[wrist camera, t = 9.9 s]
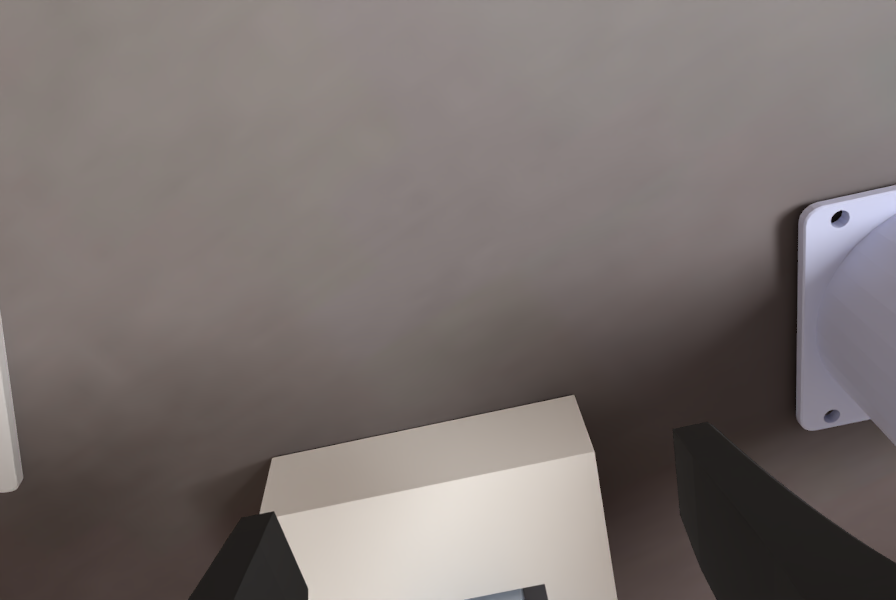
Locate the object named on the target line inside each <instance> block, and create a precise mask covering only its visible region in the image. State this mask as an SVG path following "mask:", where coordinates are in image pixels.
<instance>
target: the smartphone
mask: <svg viewBox="0 0 896 600" xmlns="http://www.w3.org/2000/svg"><path fill="white" fill-rule="evenodd" d="M22 480H23V472H22V464H21V457H20V450H19V443H18V436H17V428H16V421H15V414H14V407H13V400H12V393H11V385H10V378H9V371H8V364H7V357H6V349H5V342H4V335H3V328H2V321H1V313H0V492H4V493H5V492H11V491H14V490H16V489H17V488H18V486H19V485H20V483H21V482H22Z"/></svg>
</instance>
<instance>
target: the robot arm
mask: <svg viewBox="0 0 896 600" xmlns="http://www.w3.org/2000/svg"><path fill="white" fill-rule="evenodd" d="M840 210H842V215H841V217H840V218H839V219H838V220H837V221H835V222H833V223H831V218H832V216H833V215H834V214H835V213H836V212H838V211H840ZM830 410H833V411H832V412H831V413H830V414H828V415H825V414H826V413H827V412H828V411H830ZM796 418H797V421H798V422H799V424H800V425H801V426H802V427H803V428H804V429H806V430H809V431H815V430H820V429H825V428H830V427H835V426H840V425H845V424H850V423H855V422H860V421H864V420H869V419H871V420H872V421H873V422H874V423H875V424H876V425H877V426H878V427H879V428H880V430H881V431H882V432H883V433H884V434H885V435H886V436H887V437H888V438H889V439H890V440H891V442H892V443H893V444H894V445H895V446H896V185H893V186H889V187H884V188H879V189H875V190H870V191H866V192H861V193H857V194H852V195H847V196H843V197H838V198H834V199H829V200H825V201H820V202H816V203H813V204H811V205H809V206H808V207H807V208H805V209H804V210H803V212H802V213H801V215H800V218H799V222H798V298H797V376H796ZM673 439H674V451H675V462H676V474H677V485H678V497H679V508H680V516H681V518H682V521H683V524H684V526H685V529H686V532H687V534H688V537H689V540H690V542H691V545H692V548H693V550H694V553H695V555H696V558H697V560H698V563H699V565H700V568H701V570H702V572H703V574H704V576H705V578H706V580H707V582H708V584H709V586H710V588H711V590H712V592H713V593H714V595H715V597H716V599H717V600H896V563H895V562H893V561H891V560H890V559H888V558H886V557H885V556H883V555H882V554H880V553H878V552H877V551H875V550H874V549H872V548H870V547H869V546H867V545H866V544H864V543H863V542H861V541H860V540H858V539H857V538H855V537H854V536H852V535H851V534H849V533H848V532H846V531H845V530H843V529H842V528H841V527H839V526H838V525H836V524H835V523H833V522H832V521H830V520H829V519H828V518H826V517H825V516H823V515H822V514H821V513H819V512H818V511H817V510H815V509H814V508H812V507H811V506H810V505H808V504H807V503H806V502H804V501H803V500H802V499H801V498H799V497H798V496H797V495H795V494H794V493H793V492H791V491H790V490H789V489H788V488H786V487H785V486H784V485H782V484H781V483H780V482H779V481H777V480H776V479H775V478H774V477H772V476H771V475H770V474H769V473H767V472H766V471H765V470H764V469H763V468H761V467H760V466H759V465H758V464H757V463H755V462H754V461H753V460H752V459H751V458H749V457H748V456H747V455H746V454H745V453H744V452H742V451H741V450H740V449H739V448H738V447H737V446H736V445H734V444H733V443H732V442H731V441H730V440H729V439H728V438H726V437H725V436H724V435H723V434H722V433H721V432H720V431H719V430H718V429H716V428H715V427H714V426H713V425H711V424H710V423H708V422H705V423H700V424H695V425H691V426H686V427H681V428H676V429H673ZM188 600H308V587H307V585H306V582H305V580H304V578H303V576H302V573H301V571H300V569H299V566H298V564H297V562H296V560H295V557H294V555H293V553H292V551H291V548H290V546H289V544H288V542H287V539H286V537H285V535H284V532H283V530H282V528H281V526H280V523H279V521H278V519H277V517H276V514H275V512H274V511H272V512H268V513H263V514H258V515H253V516H248V517H243V518H241V519H240V521H239V522H238V524H237V525H236V527H235V528H234V530H233V531H232V533H231V534H230V536H229V537H228V539H227V540H226V542H225V544H224V545H223V547H222V548H221V550H220V551H219V553H218V555H217V556H216V558H215V559H214V561H213V562H212V564H211V565H210V567H209V569H208V570H207V572H206V573H205V575H204V576H203V578H202V579H201V581H200V582H199V584H198V586H197V587H196V589H195V590H194V592H193V593H192V594H191V596H190V597H189V599H188Z"/></svg>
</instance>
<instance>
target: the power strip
mask: <svg viewBox="0 0 896 600" xmlns="http://www.w3.org/2000/svg"><path fill="white" fill-rule="evenodd" d="M272 511H274V512H275V514H276V517H277V519H278V521H279V523H280V526H281V528H282V530H283V532H284V535H285V537H286V539H287V542H288V544H289V546H290V548H291V551H292V553H293V555H294V557H295V560H296V562H297V564H298V566H299V569H300V571H301V573H302V576H303V578H304V580H305V582H306V585H307V587H308V600H465V599H470V598H475V597H480V596H485V595H491V594H496V593H501V592H506V591H511V590H516V589H521V588H523V592H524V597H525V600H617V595H616V588H615V582H614V575H613V569H612V562H611V556H610V549H609V543H608V536H607V530H606V523H605V517H604V510H603V504H602V497H601V491H600V484H599V478H598V471H597V465H596V458H595V452H594V449H593V446H592V443H591V440H590V438H589V435H588V432H587V429H586V426H585V424H584V421H583V418H582V415H581V412H580V410H579V407H578V404H577V401H576V398H575V396H574V395H571V396H566V397H561V398H556V399H552V400H547V401H542V402H537V403H532V404H528V405H523V406H518V407H513V408H508V409H504V410H499V411H494V412H489V413H485V414H480V415H475V416H470V417H465V418H461V419H456V420H451V421H446V422H442V423H437V424H432V425H427V426H422V427H418V428H413V429H408V430H403V431H399V432H394V433H389V434H384V435H379V436H375V437H370V438H365V439H360V440H356V441H351V442H346V443H341V444H336V445H332V446H327V447H322V448H317V449H313V450H308V451H303V452H298V453H293V454H289V455H284V456H279V457H274V458H272V461H271V465H270V470H269V474H268V478H267V483H266V487H265V491H264V496H263V500H262V504H261V509H260V513H259V514H263V513H268V512H272Z"/></svg>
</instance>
